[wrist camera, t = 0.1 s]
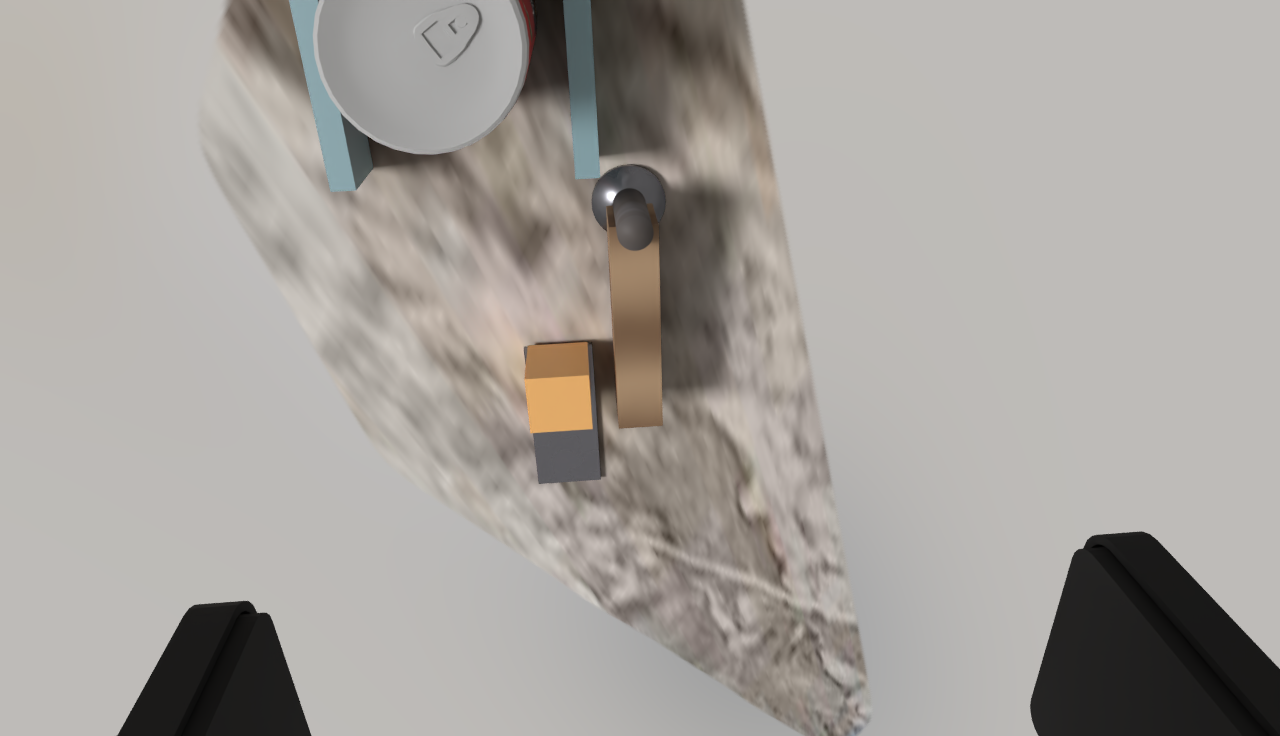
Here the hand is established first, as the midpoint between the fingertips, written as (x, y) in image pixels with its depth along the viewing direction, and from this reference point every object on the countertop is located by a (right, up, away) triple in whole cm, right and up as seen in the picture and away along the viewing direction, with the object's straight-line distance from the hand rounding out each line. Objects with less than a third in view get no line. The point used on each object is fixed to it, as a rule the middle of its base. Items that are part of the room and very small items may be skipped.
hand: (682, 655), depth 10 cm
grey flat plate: (-5, 0, +41) cm, 42 cm away
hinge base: (-1, +12, +35) cm, 37 cm away
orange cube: (-5, +3, +40) cm, 40 cm away
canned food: (-9, +20, +30) cm, 38 cm away
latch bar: (-1, +7, +37) cm, 38 cm away
